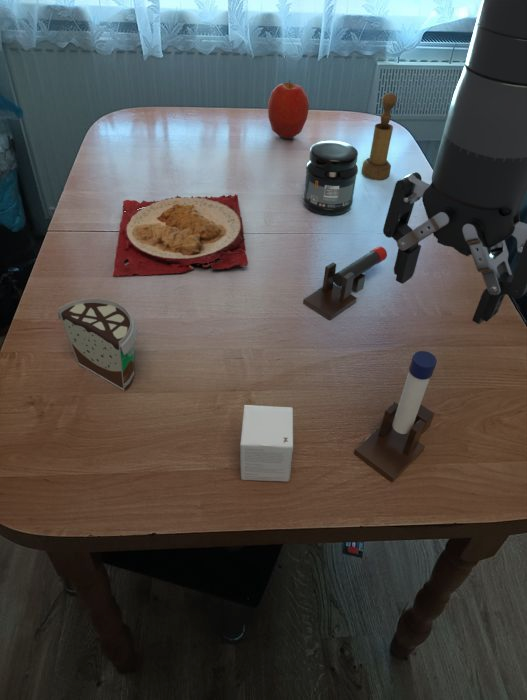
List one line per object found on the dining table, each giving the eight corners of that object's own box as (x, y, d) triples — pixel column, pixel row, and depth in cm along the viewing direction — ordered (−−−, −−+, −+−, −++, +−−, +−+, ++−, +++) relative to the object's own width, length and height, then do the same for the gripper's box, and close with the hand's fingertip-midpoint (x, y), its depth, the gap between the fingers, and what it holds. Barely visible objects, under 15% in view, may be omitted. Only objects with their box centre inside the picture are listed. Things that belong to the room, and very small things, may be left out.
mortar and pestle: (355, 172, 127) (368, 92, 115) (373, 165, 131) (387, 86, 118) (377, 182, 124) (393, 101, 111) (395, 174, 127) (412, 94, 115)
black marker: (373, 256, 97) (376, 243, 95) (385, 262, 96) (388, 249, 94) (331, 283, 91) (333, 270, 89) (343, 290, 90) (345, 277, 88)
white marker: (421, 347, 61) (408, 358, 59) (441, 359, 59) (428, 370, 58) (399, 415, 69) (387, 426, 68) (416, 426, 68) (404, 438, 66)
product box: (290, 442, 70) (294, 406, 65) (289, 483, 66) (294, 447, 61) (243, 440, 70) (243, 403, 65) (239, 480, 66) (239, 444, 61)
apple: (266, 143, 137) (268, 85, 127) (267, 127, 144) (269, 71, 135) (306, 145, 137) (312, 87, 127) (305, 129, 144) (310, 73, 135)
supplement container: (330, 188, 121) (337, 135, 113) (362, 209, 115) (371, 154, 107) (292, 200, 116) (297, 145, 108) (323, 222, 110) (330, 166, 102)
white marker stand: (402, 408, 75) (412, 378, 71) (439, 433, 72) (452, 404, 68) (353, 453, 69) (361, 424, 65) (392, 483, 66) (402, 454, 62)
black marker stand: (343, 277, 97) (348, 249, 93) (370, 292, 94) (376, 263, 90) (302, 303, 91) (305, 274, 87) (329, 320, 88) (334, 291, 84)
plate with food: (237, 203, 115) (237, 187, 113) (248, 270, 97) (248, 254, 94) (124, 207, 113) (122, 191, 111) (112, 277, 94) (109, 260, 92)
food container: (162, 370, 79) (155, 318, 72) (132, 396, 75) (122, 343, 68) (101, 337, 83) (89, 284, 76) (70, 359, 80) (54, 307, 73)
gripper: (606, 149, 40) (526, 315, 51) (439, 96, 47) (401, 253, 58) (565, 180, 36) (488, 353, 47) (390, 118, 43) (358, 282, 54)
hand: (440, 298), depth 53 cm, fingers open, 8 cm apart
